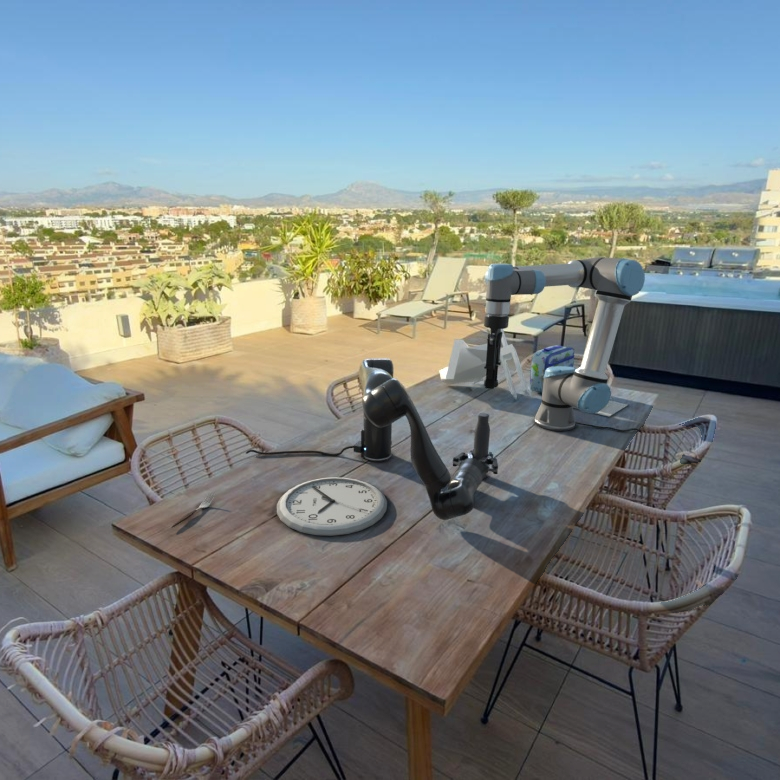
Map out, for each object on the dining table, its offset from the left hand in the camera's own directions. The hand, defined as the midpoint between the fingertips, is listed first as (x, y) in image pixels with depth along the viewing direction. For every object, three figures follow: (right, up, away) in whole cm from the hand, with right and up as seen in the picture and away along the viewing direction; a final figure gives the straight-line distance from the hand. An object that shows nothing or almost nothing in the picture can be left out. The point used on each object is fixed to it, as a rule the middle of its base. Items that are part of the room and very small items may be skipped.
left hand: (482, 453), depth 162 cm
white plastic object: (+13, +18, +81) cm, 84 cm away
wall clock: (-44, -12, -19) cm, 50 cm away
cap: (+4, +23, +8) cm, 24 cm away
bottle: (-1, -7, 0) cm, 7 cm away
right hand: (+4, +21, +8) cm, 23 cm away
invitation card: (+63, +12, +64) cm, 91 cm away
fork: (-80, -13, -25) cm, 85 cm away
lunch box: (+47, +19, +86) cm, 100 cm away
